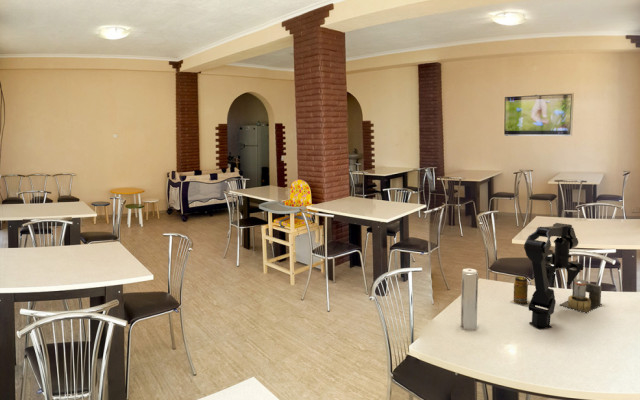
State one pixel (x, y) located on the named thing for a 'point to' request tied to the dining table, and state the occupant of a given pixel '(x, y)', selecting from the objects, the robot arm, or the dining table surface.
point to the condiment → (520, 291)
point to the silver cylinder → (469, 299)
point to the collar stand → (589, 302)
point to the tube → (580, 290)
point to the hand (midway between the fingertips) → (560, 286)
